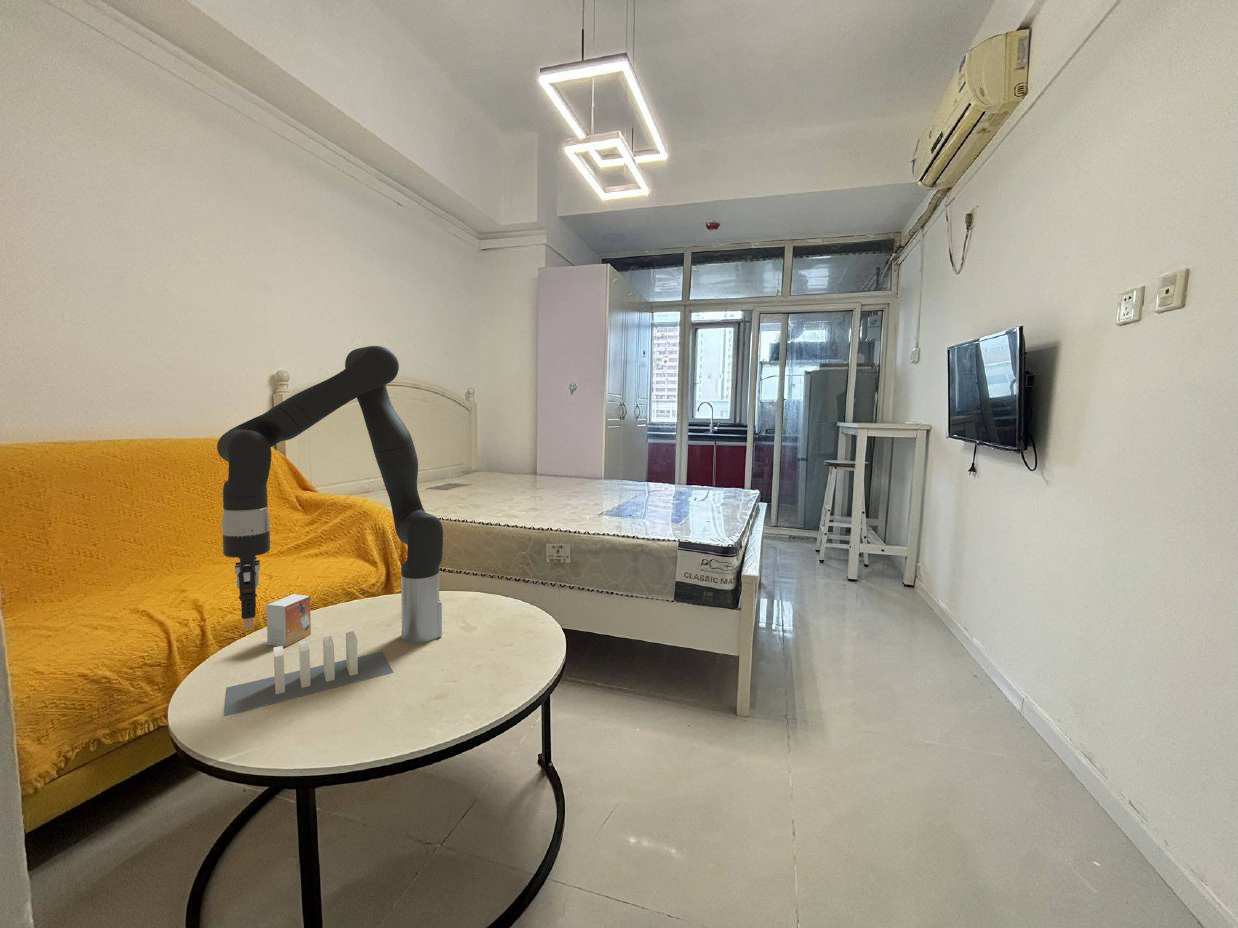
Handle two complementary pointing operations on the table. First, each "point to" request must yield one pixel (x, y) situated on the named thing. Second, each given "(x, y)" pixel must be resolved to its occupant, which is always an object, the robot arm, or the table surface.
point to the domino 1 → (250, 621)
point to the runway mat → (264, 689)
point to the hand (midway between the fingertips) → (249, 612)
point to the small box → (288, 620)
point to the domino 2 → (279, 670)
